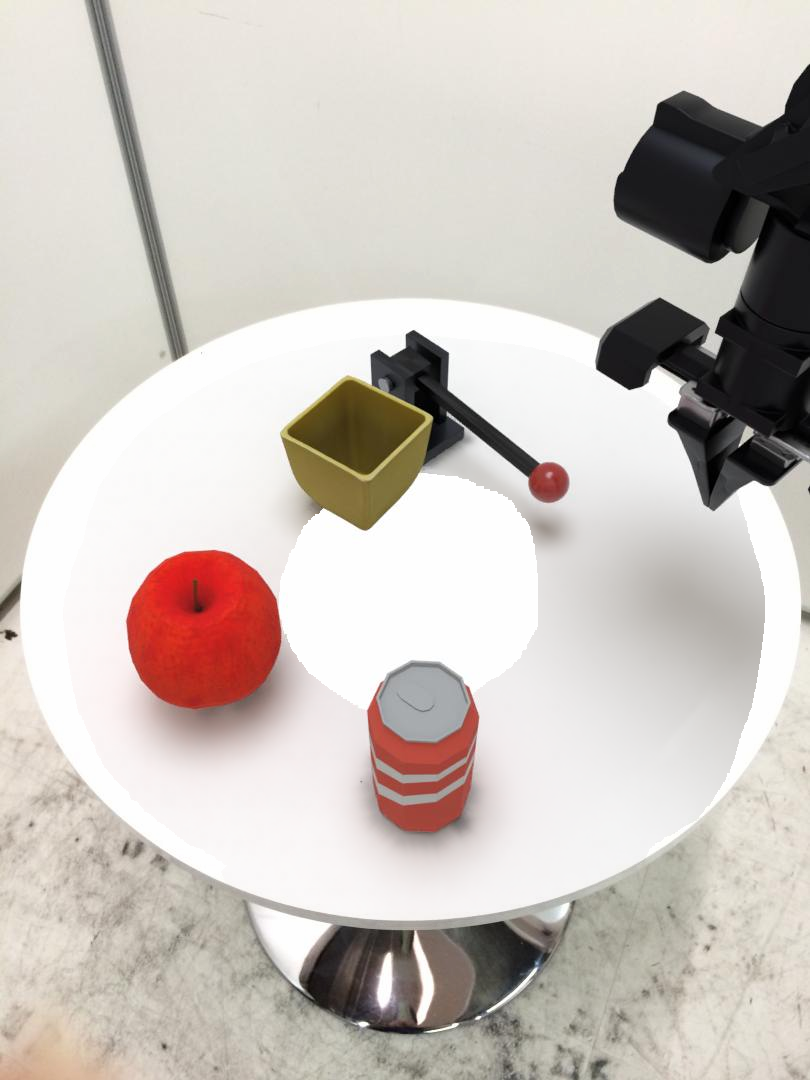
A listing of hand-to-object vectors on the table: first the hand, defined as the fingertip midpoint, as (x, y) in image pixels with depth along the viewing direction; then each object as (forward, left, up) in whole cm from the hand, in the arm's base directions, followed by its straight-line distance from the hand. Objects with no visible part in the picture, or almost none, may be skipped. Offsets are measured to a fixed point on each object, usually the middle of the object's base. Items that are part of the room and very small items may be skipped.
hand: (712, 504), depth 56 cm
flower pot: (+26, -5, -13) cm, 30 cm away
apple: (+30, +14, -13) cm, 36 cm away
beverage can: (+14, +18, -13) cm, 27 cm away
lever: (+18, -11, -8) cm, 22 cm away
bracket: (+24, -15, -13) cm, 31 cm away
